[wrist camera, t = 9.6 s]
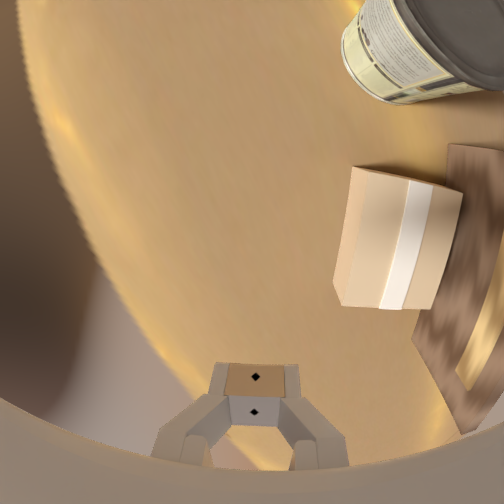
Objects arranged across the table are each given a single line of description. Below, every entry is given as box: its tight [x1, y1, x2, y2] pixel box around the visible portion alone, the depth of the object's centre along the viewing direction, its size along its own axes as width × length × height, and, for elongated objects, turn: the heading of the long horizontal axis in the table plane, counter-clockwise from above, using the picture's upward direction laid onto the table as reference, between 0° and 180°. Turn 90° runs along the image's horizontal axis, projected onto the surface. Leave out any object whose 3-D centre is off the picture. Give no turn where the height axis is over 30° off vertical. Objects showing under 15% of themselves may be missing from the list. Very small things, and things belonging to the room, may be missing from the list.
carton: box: [333, 167, 463, 310], centre depth 25 cm, size 12×10×5 cm
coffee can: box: [341, 0, 504, 105], centre depth 14 cm, size 10×10×14 cm
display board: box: [412, 144, 504, 435], centre depth 20 cm, size 24×7×16 cm, turn 0°
